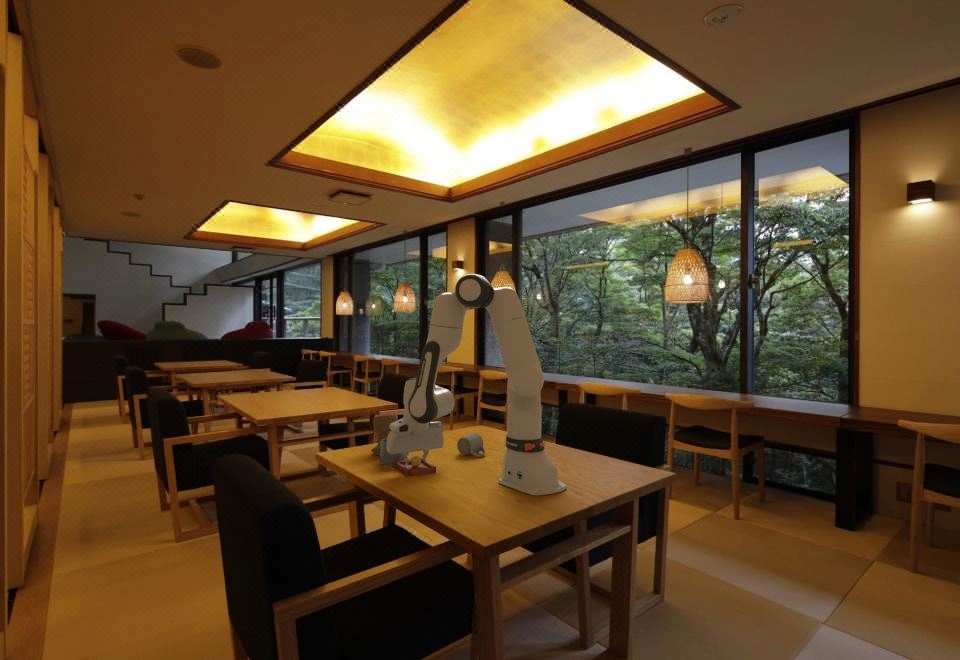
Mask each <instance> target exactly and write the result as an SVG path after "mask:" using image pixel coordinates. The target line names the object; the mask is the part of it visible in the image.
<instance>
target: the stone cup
mask: <svg viewBox="0 0 960 660" xmlns="http://www.w3.org/2000/svg"><path fill="white" fill-rule="evenodd" d="M372 419H373V421H372V423H373V429H374V432H375V435H376V438H377V445H376V446H375V447H373V448H371V450H370V451H371V453H373V454H374V455H376V456H379V457H380V441H381V440H383V439H385V438H387V437H388V434H389V432H390V431H391V429H390V424H391V423H393V422H395V421H398V420H399V417H398V414H396V413H384V414H375V415H374V416H373V418H372Z"/></svg>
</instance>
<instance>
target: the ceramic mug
mask: <svg viewBox="0 0 960 660" xmlns="http://www.w3.org/2000/svg"><path fill="white" fill-rule="evenodd" d="M456 444H457V445H456V446H457V450H458V452H459V453H460V454H461V455H462V456H469V455H472V456H474V457H476V458H483V457H484V456H485V454H486V450H485V448H484V440H483V437H482V435H480V434H479V433H477V432H471V433H469V434H466V435H464V436H462V437H460V438H459V439H458V441H457V443H456ZM480 452H482V453H480Z"/></svg>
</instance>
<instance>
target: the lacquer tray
mask: <svg viewBox="0 0 960 660" xmlns="http://www.w3.org/2000/svg"><path fill="white" fill-rule="evenodd" d="M394 467H395V468H396V469H397V470H398V471H400V472H402V473H403V474H404V475H406V476H407V477H408V478H410V477H416V476H422V475H426V474H427V475H428V474H434V473H437V466H435V465H434V464H432V463H430V462H428V461H427V460H426V462H425V463H421V464H420V466H418V467H412V466H411V465H406V463H405V461H398V462H395V466H394Z"/></svg>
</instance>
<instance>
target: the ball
mask: <svg viewBox="0 0 960 660" xmlns="http://www.w3.org/2000/svg"><path fill="white" fill-rule="evenodd" d="M420 457H421V456H419V455H418V454H417V455H416V454H415V455H413V456H411V457H410V459H411V466H412V467H418V466H420V464H421V458H420Z"/></svg>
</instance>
